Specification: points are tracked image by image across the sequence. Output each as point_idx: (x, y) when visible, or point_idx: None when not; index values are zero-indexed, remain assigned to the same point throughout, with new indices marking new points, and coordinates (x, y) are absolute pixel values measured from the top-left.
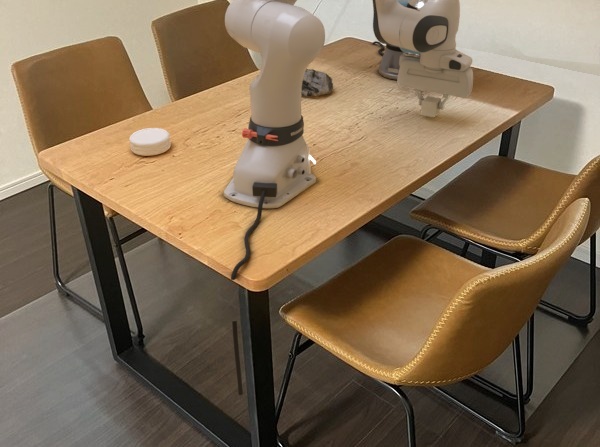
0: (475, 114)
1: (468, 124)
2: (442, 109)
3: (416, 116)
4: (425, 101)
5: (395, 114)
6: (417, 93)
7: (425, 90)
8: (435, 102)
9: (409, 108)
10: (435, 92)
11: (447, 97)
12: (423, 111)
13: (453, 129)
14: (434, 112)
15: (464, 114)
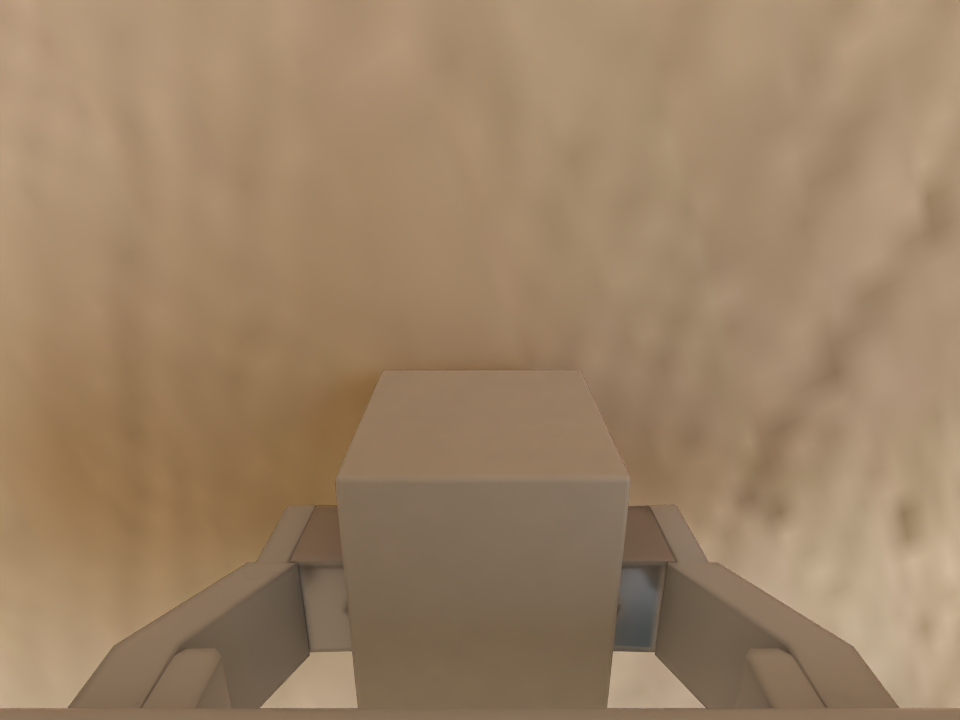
0: None
1: (27, 465)
2: (293, 511)
3: (636, 411)
4: (557, 484)
5: (896, 353)
6: (807, 644)
7: (653, 716)
8: (365, 521)
9: (770, 574)
10: (354, 710)
11: (99, 672)
12: (548, 391)
13: (84, 249)
14: (373, 397)
15: None
